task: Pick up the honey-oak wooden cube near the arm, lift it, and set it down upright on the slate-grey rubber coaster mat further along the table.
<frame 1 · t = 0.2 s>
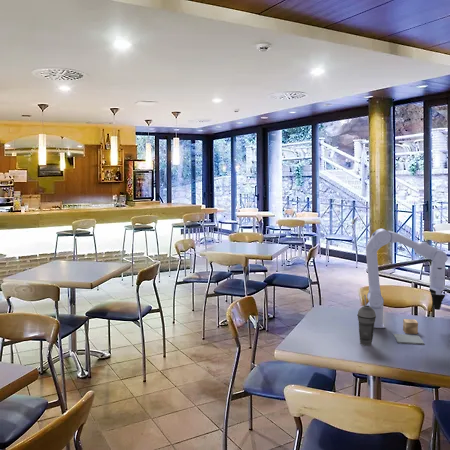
hand: (436, 307, 207), 10 cm above the table, tool pointing down, fingers open, 7 cm apart
coaster mat: (408, 339, 194), on the table
oak cube: (410, 332, 204), on the table
beverage cup: (365, 344, 189), on the table
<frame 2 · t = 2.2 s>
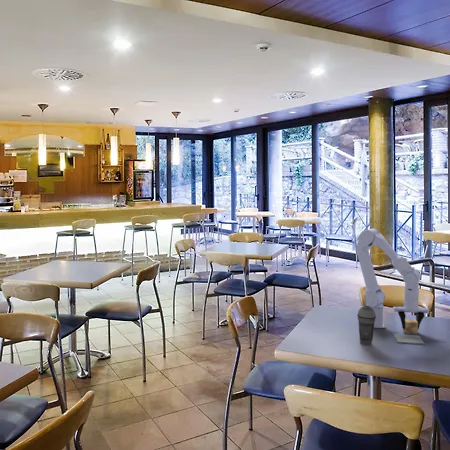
hand: (410, 328, 204), 1 cm above the table, tool pointing down, fingers closed on oak cube, 5 cm apart
oak cube: (410, 331, 204), on the table, touching gripper
everything else where it was.
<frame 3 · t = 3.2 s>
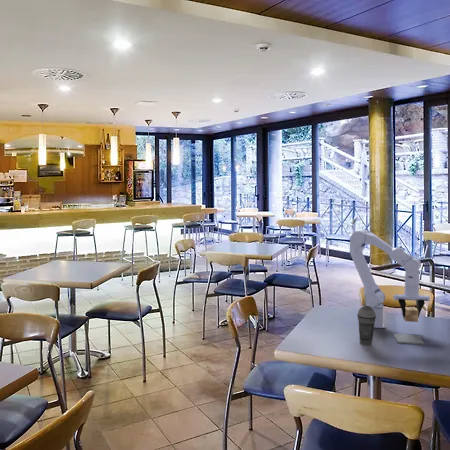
hand: (410, 316, 203), 7 cm above the table, tool pointing down, fingers closed on oak cube, 5 cm apart
oak cube: (410, 319, 204), point 5 cm above the table, touching gripper
everything else where it was.
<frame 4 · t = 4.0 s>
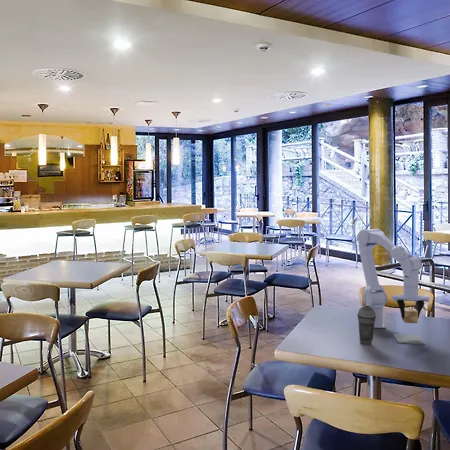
hand: (409, 318, 195), 8 cm above the table, tool pointing down, fingers closed on oak cube, 5 cm apart
oak cube: (409, 321, 196), point 7 cm above the table, touching gripper
everything else where it was.
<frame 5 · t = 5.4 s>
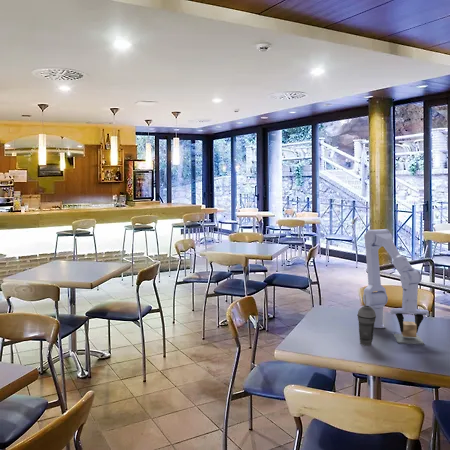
hand: (408, 331, 193), 3 cm above the table, tool pointing down, fingers closed on oak cube, 5 cm apart
oak cube: (408, 335, 194), point 2 cm above the table, touching gripper
everything else where it was.
when the fingers open (3 cm above the table, at t = 6.3 s): oak cube drops 1 cm, resting on coaster mat.
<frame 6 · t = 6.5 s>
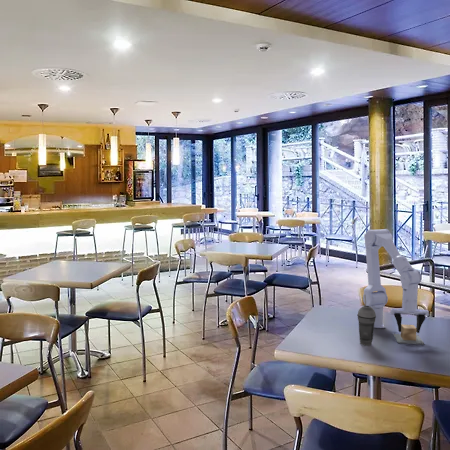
hand: (408, 331, 193), 3 cm above the table, tool pointing down, fingers open, 6 cm apart
oak cube: (408, 338, 194), point 1 cm above the table, touching coaster mat
everything else where it was.
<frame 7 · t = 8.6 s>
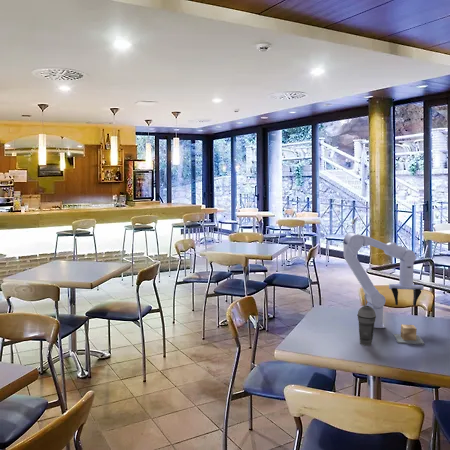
hand: (405, 305, 213), 9 cm above the table, tool pointing down, fingers open, 7 cm apart
nothing on the table moved.
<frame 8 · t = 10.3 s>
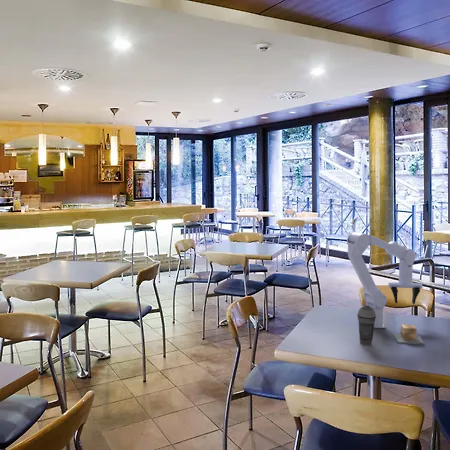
hand: (404, 303, 216), 9 cm above the table, tool pointing down, fingers open, 7 cm apart
nothing on the table moved.
at the end: oak cube 0.1 cm off-centre on the coaster mat, point 0.6 cm above the coaster mat's base; oak cube tilted 0°; the gripper is holding nothing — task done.
